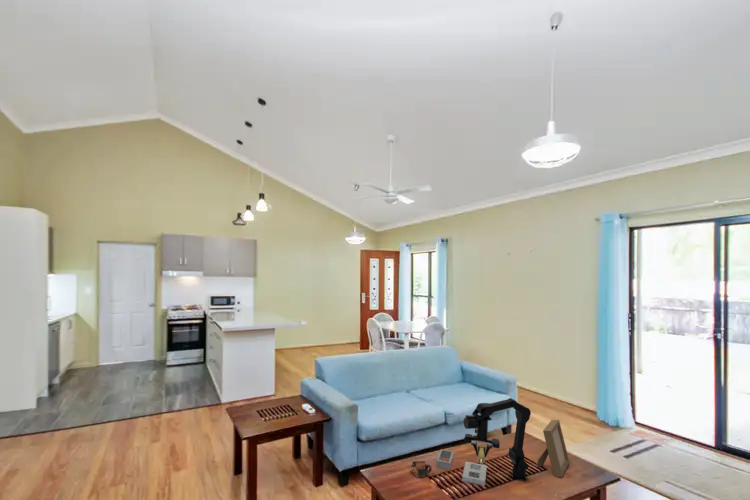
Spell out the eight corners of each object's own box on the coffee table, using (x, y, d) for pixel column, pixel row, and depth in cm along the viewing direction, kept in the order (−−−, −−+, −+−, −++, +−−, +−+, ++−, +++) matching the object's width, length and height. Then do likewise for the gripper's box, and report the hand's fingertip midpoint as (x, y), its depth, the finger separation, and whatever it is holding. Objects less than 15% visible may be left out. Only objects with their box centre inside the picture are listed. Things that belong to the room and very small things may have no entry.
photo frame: (569, 464, 233) (568, 422, 235) (561, 478, 216) (561, 433, 217) (543, 456, 242) (543, 416, 244) (534, 470, 225) (534, 426, 226)
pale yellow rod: (485, 460, 213) (485, 445, 213) (484, 463, 209) (485, 448, 210) (477, 458, 214) (478, 444, 215) (477, 462, 210) (477, 447, 211)
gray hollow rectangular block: (453, 458, 236) (453, 451, 236) (449, 469, 222) (449, 462, 222) (441, 455, 239) (441, 449, 239) (436, 467, 224) (436, 460, 225)
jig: (486, 469, 223) (486, 465, 223) (484, 485, 206) (484, 481, 206) (465, 465, 227) (465, 461, 227) (462, 481, 210) (462, 476, 210)
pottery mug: (410, 478, 213) (408, 461, 217) (415, 478, 220) (413, 462, 225) (430, 476, 209) (429, 459, 214) (435, 477, 216) (433, 460, 221)
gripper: (499, 425, 218) (499, 453, 217) (466, 419, 223) (465, 447, 222) (499, 432, 207) (498, 462, 206) (464, 426, 213) (463, 455, 212)
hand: (481, 456), depth 212 cm, fingers closed on pale yellow rod, 4 cm apart
